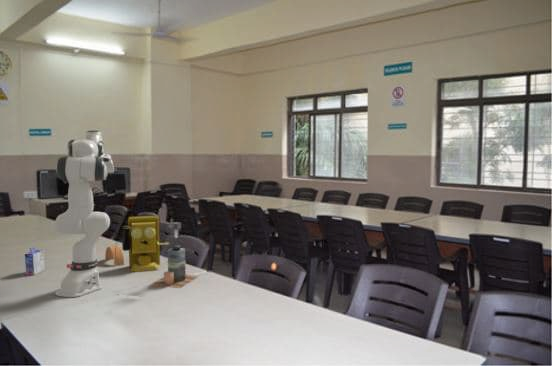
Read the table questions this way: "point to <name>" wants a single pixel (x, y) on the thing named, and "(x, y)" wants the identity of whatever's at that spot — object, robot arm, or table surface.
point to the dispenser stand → (176, 268)
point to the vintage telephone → (142, 243)
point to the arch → (111, 255)
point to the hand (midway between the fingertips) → (96, 179)
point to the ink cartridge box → (34, 262)
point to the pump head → (175, 228)
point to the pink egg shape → (169, 278)
